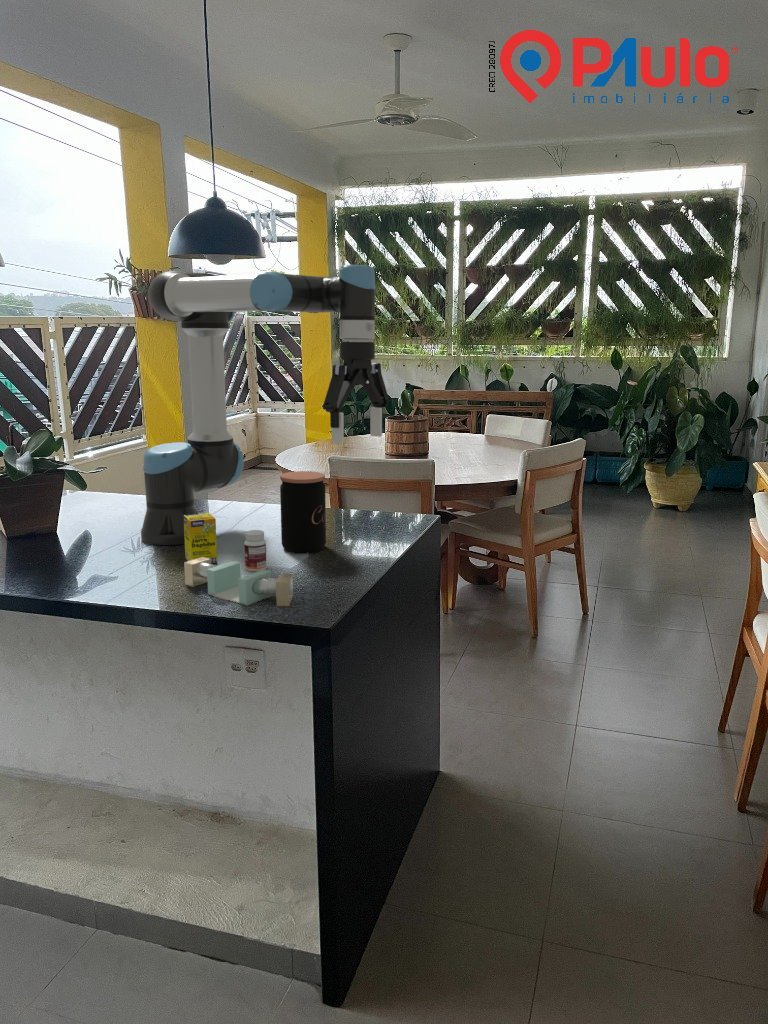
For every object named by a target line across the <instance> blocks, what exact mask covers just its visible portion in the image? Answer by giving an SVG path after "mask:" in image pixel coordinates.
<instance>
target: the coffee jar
mask: <svg viewBox="0 0 768 1024" xmlns="http://www.w3.org/2000/svg"><path fill="white" fill-rule="evenodd" d="M279 479H280V481H281V483H280V485H279V493H280V494H279V495H280V496H279V497H280V498H279V499H280V501H279V502H280V531H281V534H280V535H281V537H280V539H281V545H282V548H283V549H284V551H285V552H288V553H292V554H300V555H303V554H313V553H318V552H320V551H322V550H323V549H324V548H325V546H326V543H327V527H326V525H327V524H326V523H327V521H326V518H327V517H326V516H327V515H326V506H327V505H326V484H325V483H324V481H325V479H326V475H325V474H324V473H323V472H319V471H312V470H311V471H310V470H308V471H307V470H294V471H287V472H284V473H281V474H280V475H279Z"/></svg>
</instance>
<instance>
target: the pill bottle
mask: <svg viewBox="0 0 768 1024" xmlns="http://www.w3.org/2000/svg"><path fill="white" fill-rule="evenodd" d="M244 534H245V540H244V542H243V546H244V547H243V550H244V569H245V570H246V571H248V572H253V573H255V572H258V571H261V570H264V569H265V570H267V568H268V566H267V565H268V563H267V540H265V531H264V530H261V529H252V530H251V529H250V530H248V531H245V533H244Z"/></svg>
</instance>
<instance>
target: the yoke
mask: <svg viewBox="0 0 768 1024" xmlns="http://www.w3.org/2000/svg"><path fill="white" fill-rule="evenodd" d="M241 574H242V573H241V562H238V561H234V560H232V561H229V562H227V563H223V564H220V565H216V567H213V568H210V569H207V581H208V582H207V594H208V595H210V596H213V597H216V598H219V599H222V600H225V601H228V600H230V601H229V602H232V601H233V602H232V603H235V602H236V603H235V604H238V603H239V605H241V604H242V606H245V607H249V606H250V605H254V604H256V603H258V601H259V602H260V601H263V599H264V600H267V599H269V598H272V597H273V595H271V594H254V593H253V591H252V585H253V583H254V582H255V580H257V579H258V578H273V571H271V570H268V569H264V570H261V571H258V572H253V573H250V574H246V575H243V576H241ZM266 598H267V599H266Z"/></svg>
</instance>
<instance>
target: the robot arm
mask: <svg viewBox="0 0 768 1024" xmlns="http://www.w3.org/2000/svg"><path fill="white" fill-rule="evenodd" d="M375 273H376V272H375V269H374V267H372V266H370V265H366V264H344V265H341V266H340V267H339V273H338V275H336V276H315V275H305V274H304V275H303V274H292V273H291V274H289V273H280V272H277V271H275V272H274V271H269V272H268V271H267V272H266V271H265V272H260V273H258V274H238V275H237V274H236V275H234V274H233V275H219V274H214V273H208V272H205V273H204V272H187V271H179V270H170V271H164V272H162V273H159V274H158V275H156V276H155V277H154V278H153V280H151V282H150V285H149V288H148V291H147V292H148V293H147V294H148V295H147V296H148V301H149V304H150V307H151V308H152V310H153V311H154V312H155V313H156V314H157V315H158V316H160V317H161V318H163V319H165V320H168V321H171V322H172V321H173V322H180V323H181V325H180V326H181V331H183V332H184V333H185V334H186V335H187V338H188V340H187V341H188V355H189V357H188V358H189V377H190V379H189V380H190V395H191V396H190V399H191V413H192V415H191V416H192V432H191V433H190V435H188V437H187V442H183V441H180V442H178V441H175V442H170V443H169V442H167V443H161V444H158V445H154V446H152V447H150V448H148V449H146V451H145V452H144V454H143V466H142V470H143V472H144V475H143V476H144V486H145V487H144V488H145V489H144V490H145V502H146V503H145V504H146V510H145V515H144V517H143V522H142V523H143V524H142V527H141V529H140V535H141V536H140V537H141V541H142V542H143V543H145V544H149V545H156V546H173V545H174V546H176V545H185V537H184V515H195V514H198V512H197V509H196V506H195V505H196V504H195V493H198V492H202V491H207V490H212V489H221V488H223V487H226V486H229V485H232V484H234V483H235V482H237V480H238V479H239V478H240V477H241V475H242V472H243V470H244V454H243V451H242V450H241V447H240V446H239V445H238V444H237V442H236V443H235V442H234V436H233V435H232V433H230V432H229V431H228V424H227V421H228V420H227V399H226V378H225V377H226V376H225V375H226V374H225V354H224V353H225V351H224V350H225V349H224V336H225V334H227V332H228V331H229V330H230V327H229V326H230V325H229V322H231V321H232V320H233V319H234V318H235V317H236V315H235V314H237V312H239V313H240V312H298V313H300V312H301V313H308V314H320V313H339V339H341V340H342V341H341V342H340V343H339V358H340V359H341V360H343V364H333V366H332V372H331V373H332V375H331V378H330V382H329V385H328V388H327V391H326V395H325V398H324V401H323V405H322V409H323V410H325V411H326V412H327V413H330V414H329V415H330V419H329V421H330V423H329V424H330V428H331V443H332V444H333V443H334V444H339V445H340V444H344V443H345V442H344V438H345V437H344V435H345V434H344V431H345V430H344V429H345V428H344V427H345V426H344V425H345V423H344V422H345V421H344V416H345V415H344V412H342V409H343V407H344V405H345V403H346V401H347V400H348V398H349V396H350V393H351V391H352V389H353V388H355V387H356V386H360V385H361V386H362V388H363V390H364V391H365V393H366V395H367V397H368V399H369V401H370V403H371V404H372V406H370V411H369V412H370V415H369V416H370V418H369V419H370V425H369V426H370V437H378V438H382V436H383V419H384V418H383V417H384V416H383V415H384V412H383V411H384V408H387V406H388V404H389V403H390V398H389V395H388V391H387V388H386V385H385V381H384V377H383V374H382V365H381V362H372V361H373V360H374V359H375V358H376V344H375V343H374V342H373V340H374V339H376V338H375V336H376V334H375V333H376V332H375V330H376V328H375V327H376V326H375V325H376V324H375V320H376V316H375V308H376V307H375V305H376V289H377V286H376V278H375Z"/></svg>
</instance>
